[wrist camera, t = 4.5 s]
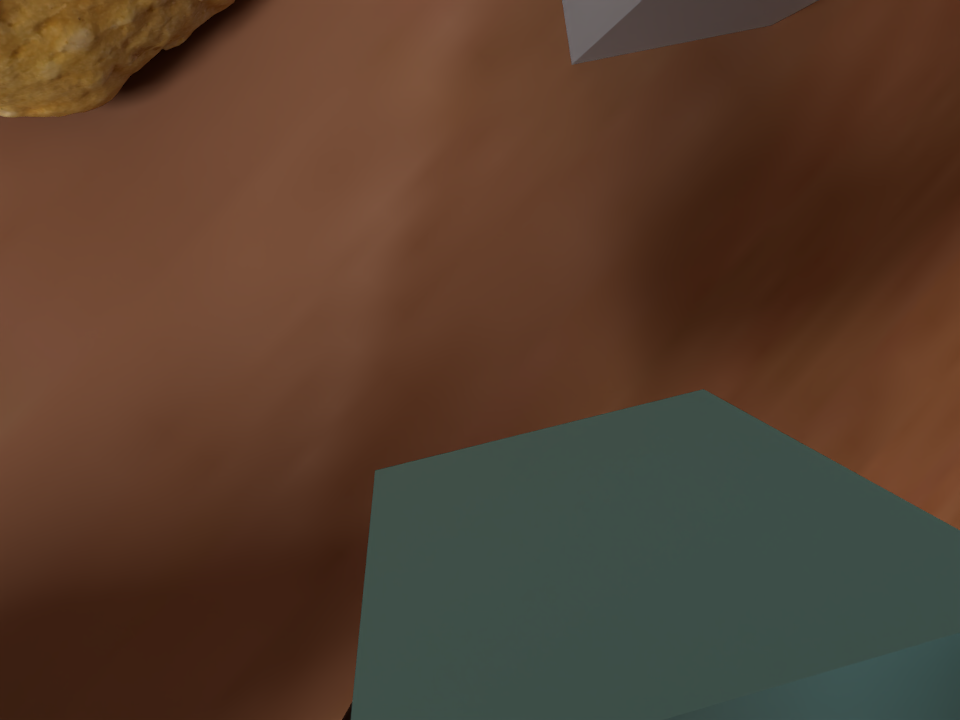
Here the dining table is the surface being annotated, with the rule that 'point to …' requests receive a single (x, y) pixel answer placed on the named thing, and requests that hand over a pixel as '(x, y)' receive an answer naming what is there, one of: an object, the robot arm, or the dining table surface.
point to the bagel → (85, 48)
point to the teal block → (654, 580)
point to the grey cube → (662, 22)
